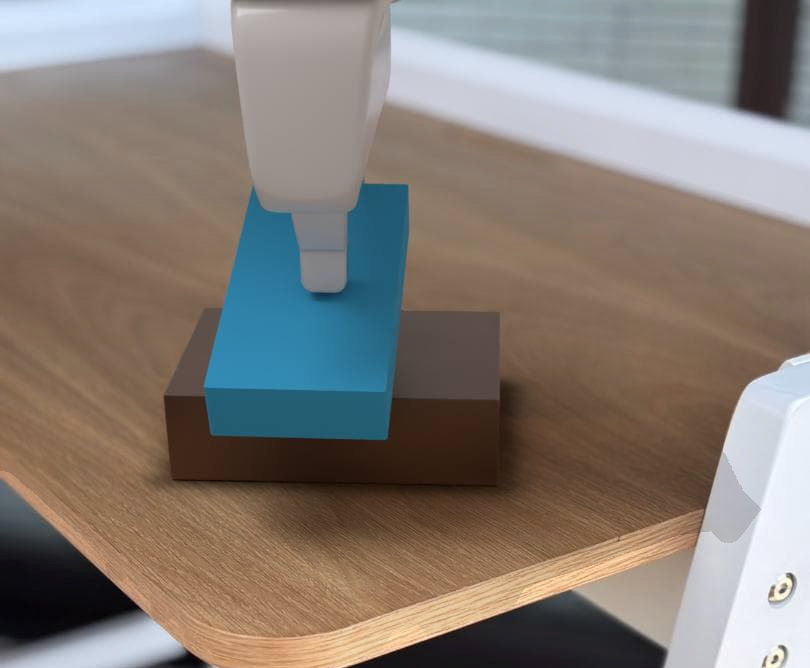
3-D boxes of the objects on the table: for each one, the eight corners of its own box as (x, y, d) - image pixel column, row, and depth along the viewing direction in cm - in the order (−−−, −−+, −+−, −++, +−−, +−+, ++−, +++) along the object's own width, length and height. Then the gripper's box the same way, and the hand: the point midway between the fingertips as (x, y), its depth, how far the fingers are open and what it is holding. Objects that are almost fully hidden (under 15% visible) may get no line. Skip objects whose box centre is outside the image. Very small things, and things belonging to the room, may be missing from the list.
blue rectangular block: (390, 525, 61) (415, 268, 74) (385, 392, 56) (413, 140, 69) (223, 520, 61) (276, 265, 74) (203, 387, 56) (264, 138, 69)
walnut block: (170, 479, 64) (162, 394, 62) (210, 384, 73) (204, 307, 71) (497, 486, 64) (499, 400, 62) (497, 389, 72) (500, 311, 70)
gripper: (279, -129, 66) (291, 180, 73) (198, -57, 49) (225, 341, 55) (421, -128, 66) (420, 181, 73) (392, -56, 48) (395, 344, 55)
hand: (335, 252), depth 64 cm, fingers closed on blue rectangular block, 7 cm apart
